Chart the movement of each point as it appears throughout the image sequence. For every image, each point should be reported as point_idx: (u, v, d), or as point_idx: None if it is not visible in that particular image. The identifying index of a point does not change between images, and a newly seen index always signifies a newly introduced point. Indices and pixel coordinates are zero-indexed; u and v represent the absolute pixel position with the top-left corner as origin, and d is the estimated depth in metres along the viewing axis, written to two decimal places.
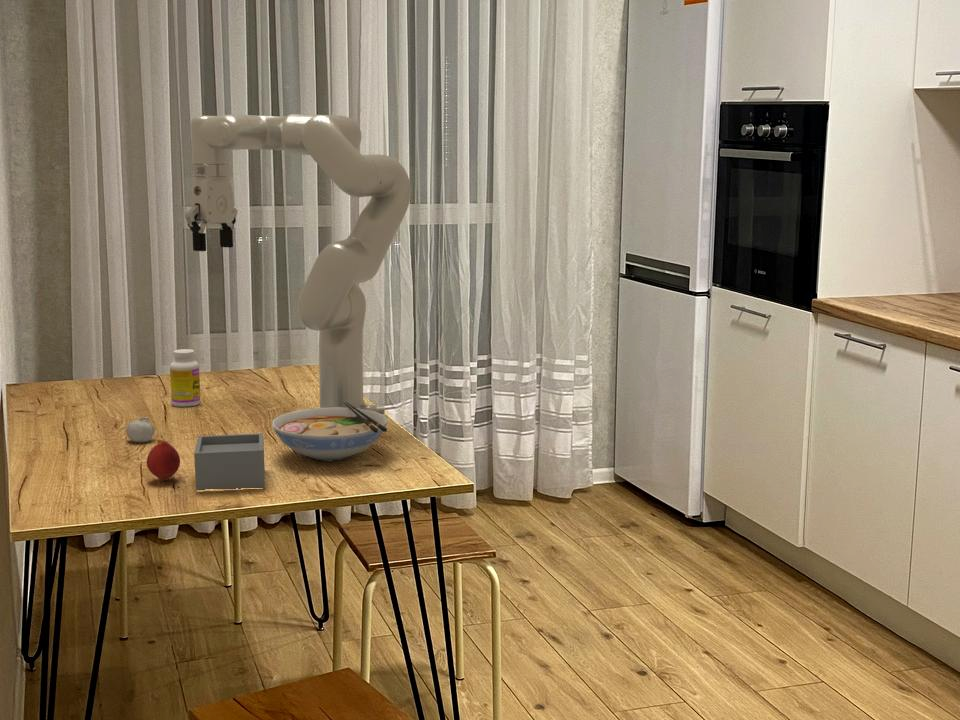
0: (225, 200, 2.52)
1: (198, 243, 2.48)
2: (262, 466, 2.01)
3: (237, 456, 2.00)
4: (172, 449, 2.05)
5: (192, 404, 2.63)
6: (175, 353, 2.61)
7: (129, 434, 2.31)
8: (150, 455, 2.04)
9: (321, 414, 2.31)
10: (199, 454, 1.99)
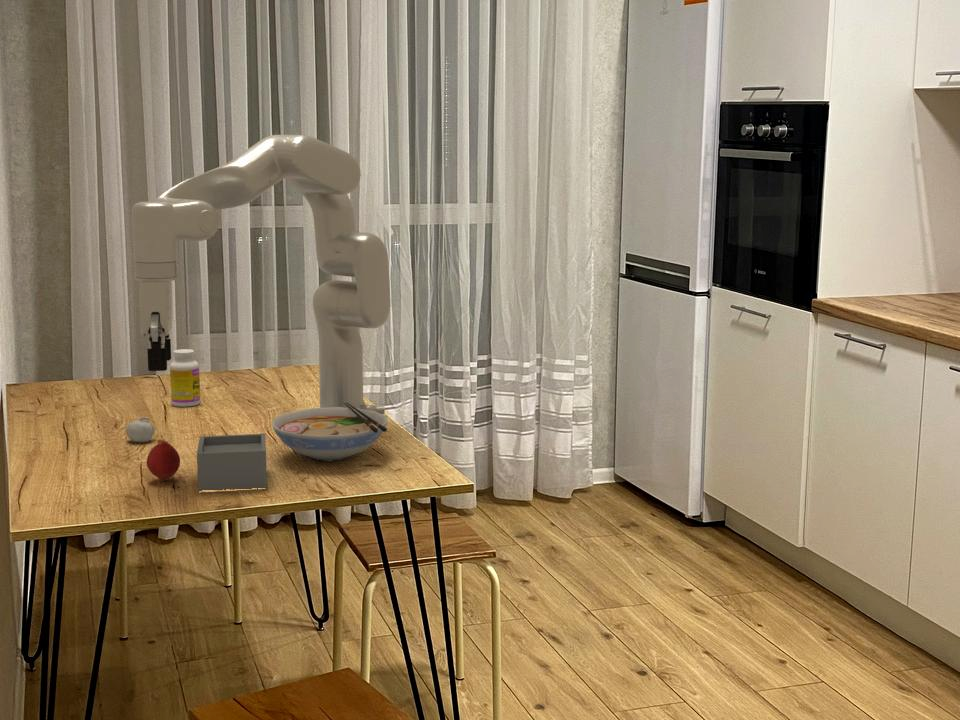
0: None
1: None
2: (264, 467, 2.01)
3: (240, 456, 2.00)
4: (172, 449, 2.05)
5: (192, 404, 2.63)
6: (175, 353, 2.61)
7: (129, 434, 2.31)
8: (150, 455, 2.04)
9: (321, 414, 2.31)
10: (202, 454, 1.98)
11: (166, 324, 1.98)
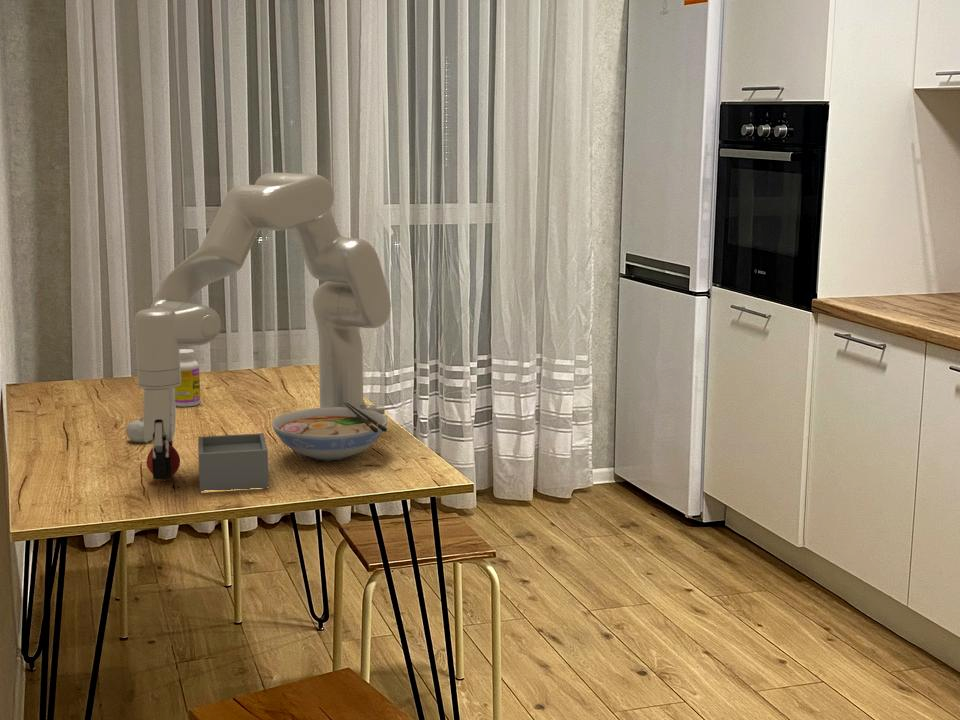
0: None
1: None
2: (266, 466, 2.01)
3: (241, 456, 2.00)
4: (172, 449, 2.05)
5: (192, 404, 2.63)
6: None
7: (129, 434, 2.31)
8: (150, 455, 2.04)
9: (321, 414, 2.31)
10: (203, 455, 1.98)
11: (170, 431, 2.00)
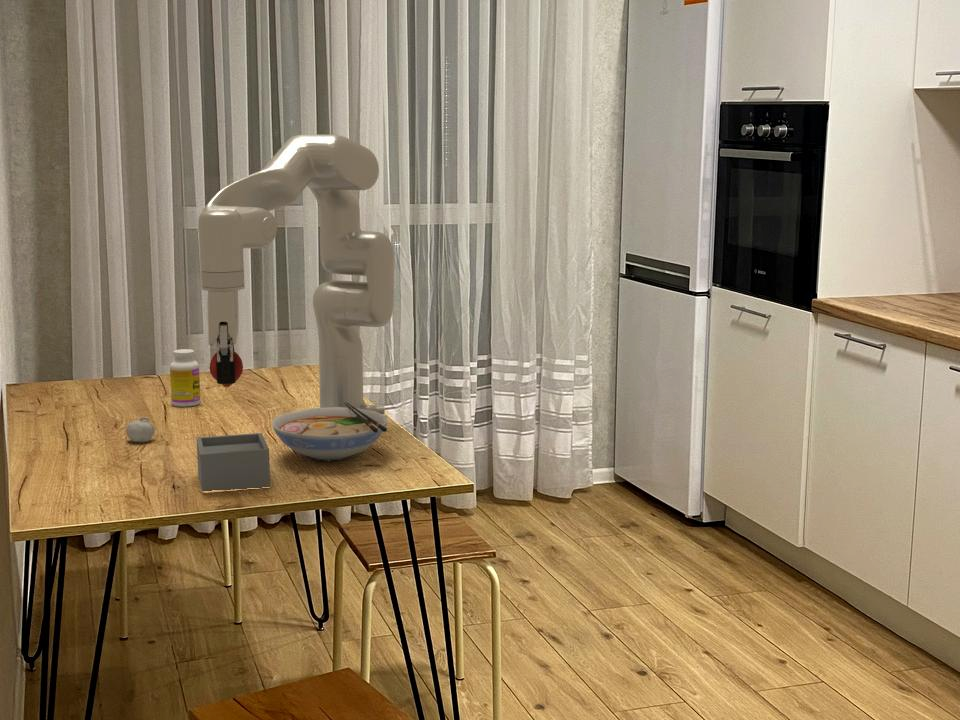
0: None
1: None
2: (267, 465, 2.02)
3: (243, 456, 2.00)
4: (235, 354, 2.02)
5: (192, 404, 2.63)
6: (175, 353, 2.61)
7: (129, 434, 2.31)
8: (213, 360, 2.01)
9: (321, 414, 2.31)
10: (205, 455, 1.98)
11: (234, 334, 1.97)
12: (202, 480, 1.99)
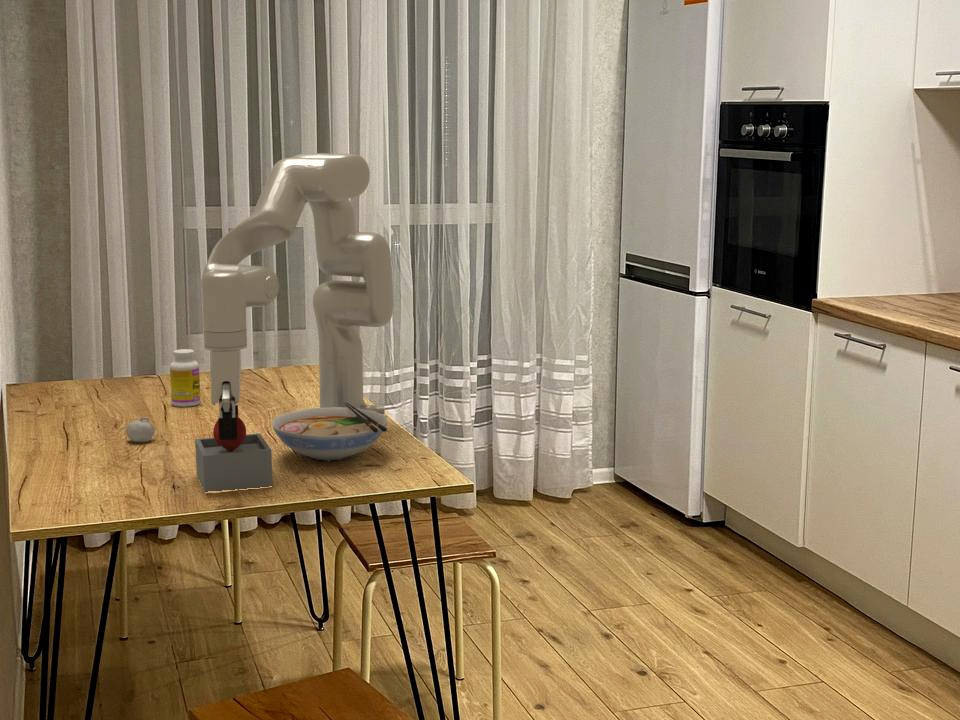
0: None
1: None
2: (270, 466, 2.02)
3: (245, 457, 2.00)
4: (238, 419, 2.04)
5: (192, 404, 2.63)
6: (175, 353, 2.61)
7: (129, 434, 2.31)
8: (217, 426, 2.03)
9: (321, 414, 2.31)
10: (208, 456, 1.98)
11: (237, 393, 1.99)
12: (205, 481, 1.98)
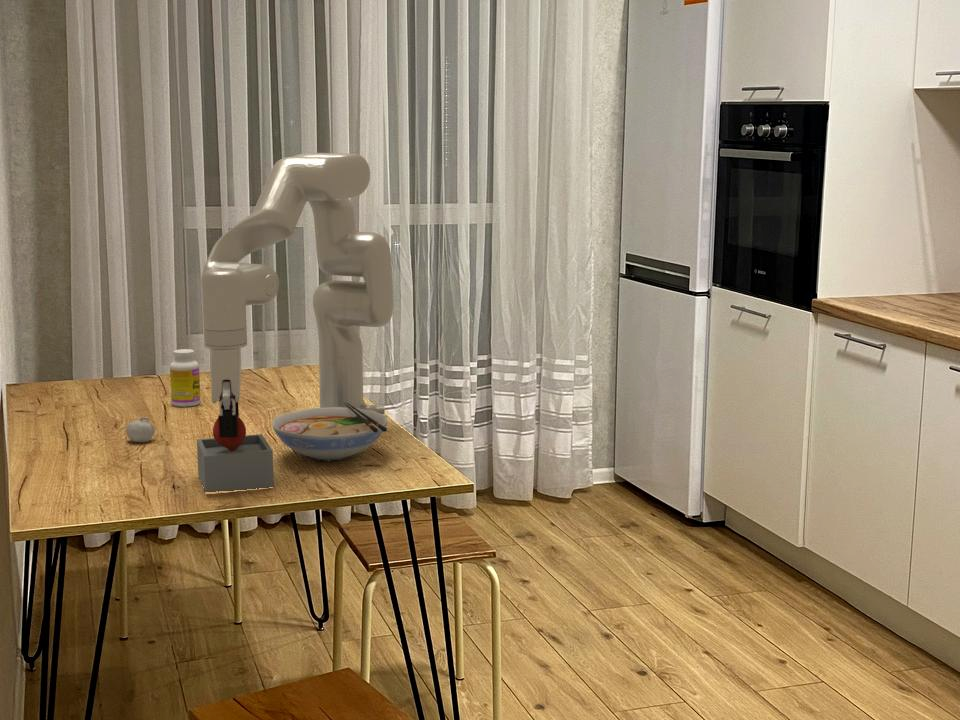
0: None
1: None
2: (271, 466, 2.01)
3: (247, 457, 2.00)
4: None
5: (192, 404, 2.63)
6: (175, 353, 2.61)
7: (129, 434, 2.31)
8: (215, 426, 2.03)
9: (321, 414, 2.31)
10: (209, 457, 1.97)
11: (237, 391, 1.99)
12: (206, 482, 1.98)
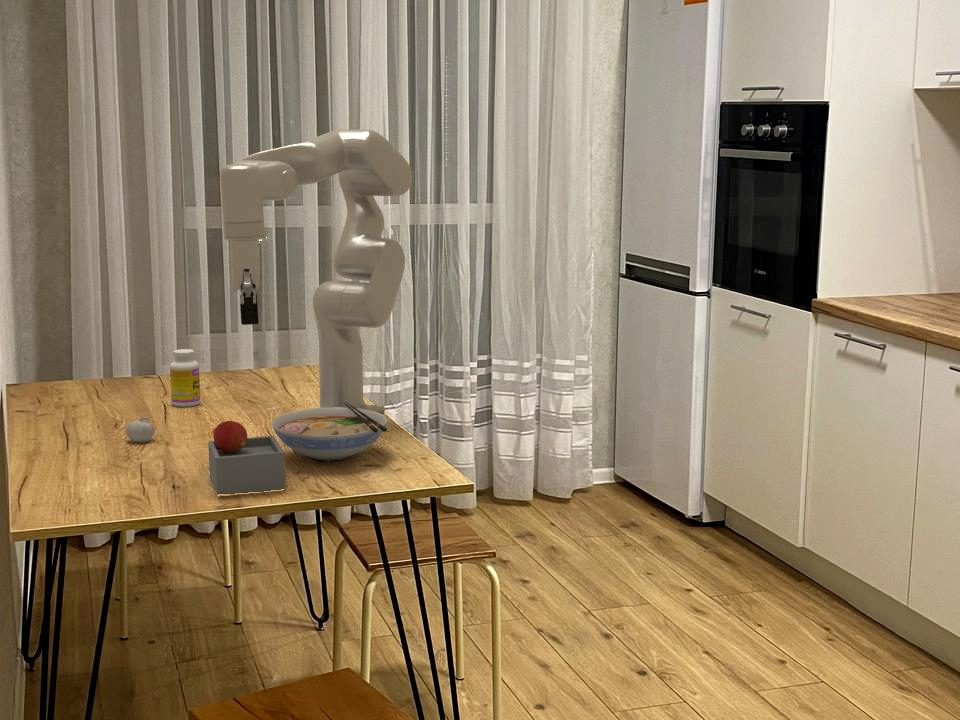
0: None
1: None
2: (283, 468, 2.00)
3: (258, 459, 1.98)
4: None
5: (192, 404, 2.63)
6: (175, 353, 2.61)
7: (129, 434, 2.31)
8: (215, 442, 2.04)
9: (321, 414, 2.31)
10: (220, 459, 1.96)
11: (257, 280, 2.10)
12: (217, 484, 1.97)
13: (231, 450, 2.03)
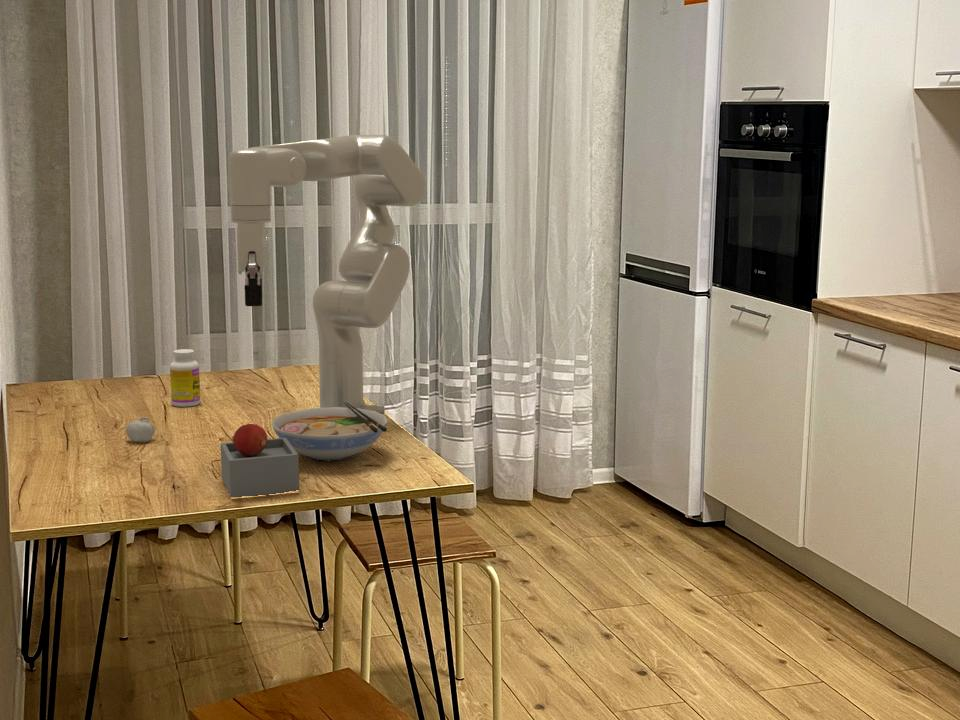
0: None
1: None
2: (296, 471, 1.99)
3: (272, 461, 1.97)
4: None
5: (192, 404, 2.63)
6: (175, 353, 2.61)
7: (129, 434, 2.31)
8: (235, 447, 2.02)
9: (321, 414, 2.31)
10: (234, 461, 1.95)
11: (262, 263, 2.14)
12: (231, 487, 1.96)
13: (253, 452, 2.01)
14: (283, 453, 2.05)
